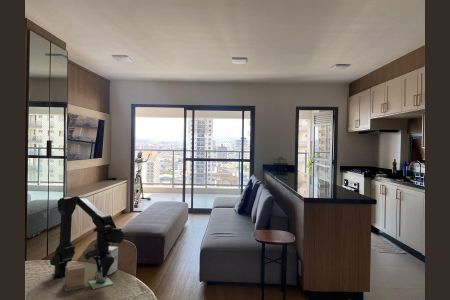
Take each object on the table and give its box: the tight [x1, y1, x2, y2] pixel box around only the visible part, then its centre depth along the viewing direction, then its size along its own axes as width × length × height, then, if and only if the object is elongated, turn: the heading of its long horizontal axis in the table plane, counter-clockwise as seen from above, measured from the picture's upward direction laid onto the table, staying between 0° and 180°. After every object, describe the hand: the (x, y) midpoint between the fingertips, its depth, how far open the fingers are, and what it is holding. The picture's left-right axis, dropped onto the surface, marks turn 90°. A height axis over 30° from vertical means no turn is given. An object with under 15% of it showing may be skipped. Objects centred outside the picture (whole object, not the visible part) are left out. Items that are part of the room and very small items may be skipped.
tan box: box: [62, 263, 86, 292], centre depth 137 cm, size 7×8×9 cm
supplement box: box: [101, 245, 119, 276], centre depth 157 cm, size 7×7×13 cm
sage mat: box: [88, 276, 114, 290], centre depth 141 cm, size 9×9×1 cm
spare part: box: [95, 270, 107, 284], centre depth 142 cm, size 5×5×5 cm
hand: (101, 274), depth 142 cm, fingers open, 9 cm apart
